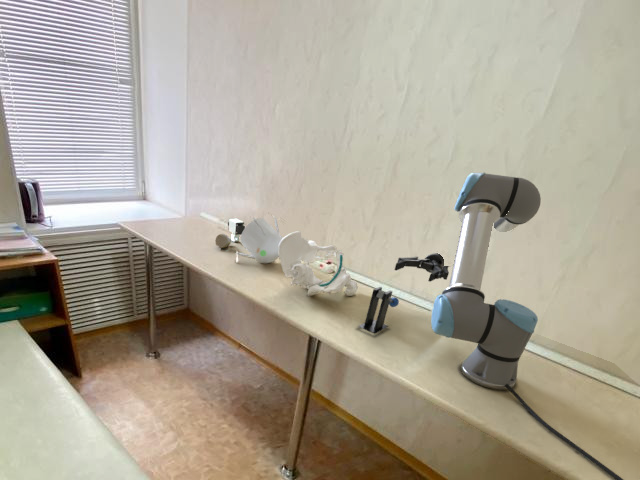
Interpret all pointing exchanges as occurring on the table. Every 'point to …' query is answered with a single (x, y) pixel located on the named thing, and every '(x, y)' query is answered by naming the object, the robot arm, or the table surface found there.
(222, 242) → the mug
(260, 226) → the satellite
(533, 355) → the table surface
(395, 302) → the tap lever
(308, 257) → the pelvis
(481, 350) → the robot arm
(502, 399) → the table surface
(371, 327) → the lever stand
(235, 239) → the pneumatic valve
